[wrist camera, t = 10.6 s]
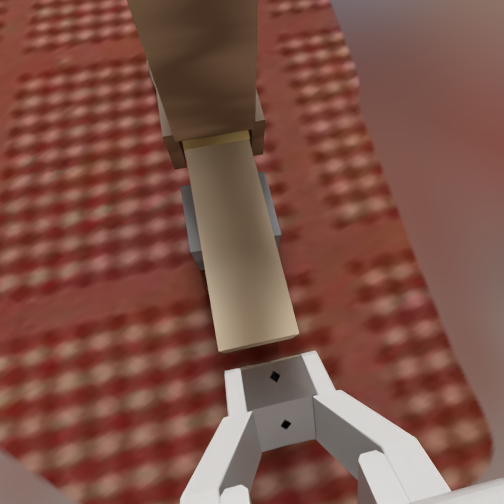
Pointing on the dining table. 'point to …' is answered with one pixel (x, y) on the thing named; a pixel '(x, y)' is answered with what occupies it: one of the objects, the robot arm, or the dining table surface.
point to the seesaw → (236, 242)
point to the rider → (202, 68)
